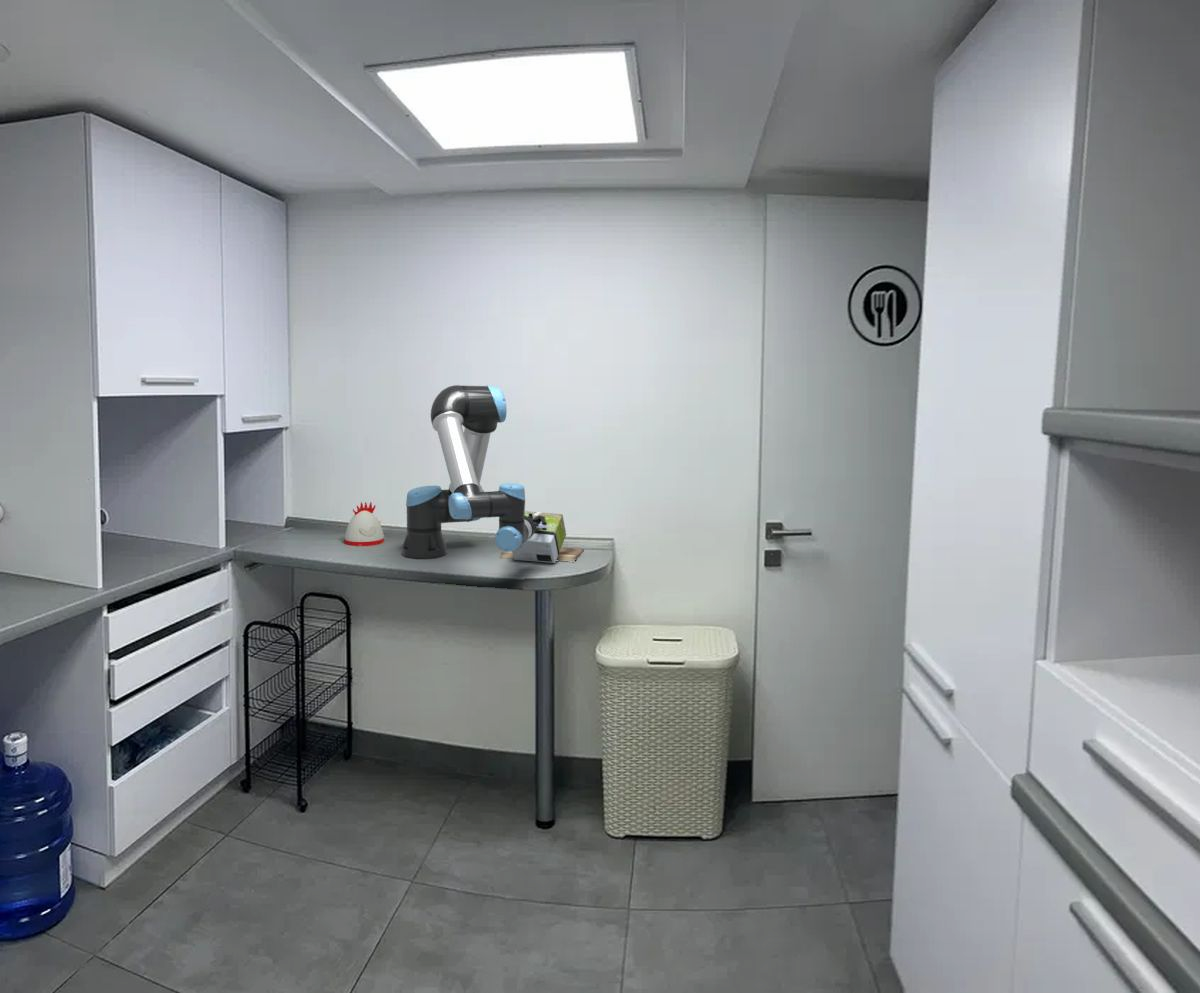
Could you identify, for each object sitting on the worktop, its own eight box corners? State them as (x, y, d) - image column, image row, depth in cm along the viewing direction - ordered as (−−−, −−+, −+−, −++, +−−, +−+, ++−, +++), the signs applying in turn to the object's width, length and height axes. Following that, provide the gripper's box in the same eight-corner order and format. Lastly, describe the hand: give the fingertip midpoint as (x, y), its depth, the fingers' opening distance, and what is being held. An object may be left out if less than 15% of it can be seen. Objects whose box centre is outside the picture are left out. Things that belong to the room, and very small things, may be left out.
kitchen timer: (388, 544, 277) (387, 504, 275) (349, 547, 270) (348, 506, 268) (379, 537, 289) (378, 498, 287) (341, 540, 282) (340, 500, 280)
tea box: (508, 538, 251) (521, 510, 262) (513, 560, 257) (526, 531, 268) (551, 542, 247) (563, 512, 258) (555, 564, 254) (567, 534, 265)
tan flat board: (500, 557, 261) (500, 552, 261) (514, 546, 278) (514, 541, 278) (574, 562, 257) (574, 556, 257) (583, 550, 274) (583, 545, 274)
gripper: (500, 540, 235) (521, 525, 258) (541, 543, 233) (558, 527, 256) (500, 516, 234) (521, 503, 257) (541, 519, 232) (559, 506, 255)
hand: (539, 515), depth 257 cm, fingers closed
